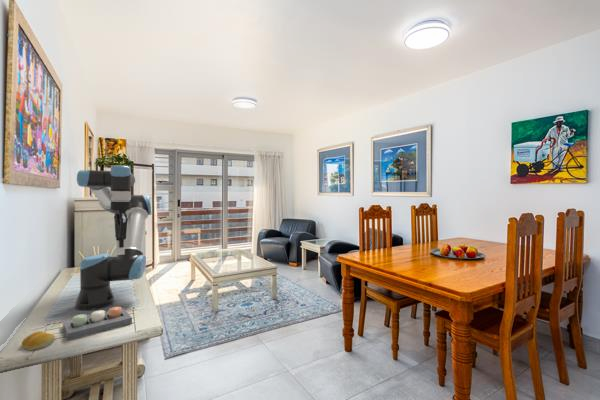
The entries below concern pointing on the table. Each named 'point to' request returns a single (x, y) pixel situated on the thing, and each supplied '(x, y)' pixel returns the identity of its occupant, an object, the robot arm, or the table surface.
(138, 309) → the table surface
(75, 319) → the pale green rounded dome
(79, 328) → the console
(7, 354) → the table surface
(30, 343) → the bread roll
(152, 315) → the table surface
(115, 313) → the brown egg
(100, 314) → the cream button
